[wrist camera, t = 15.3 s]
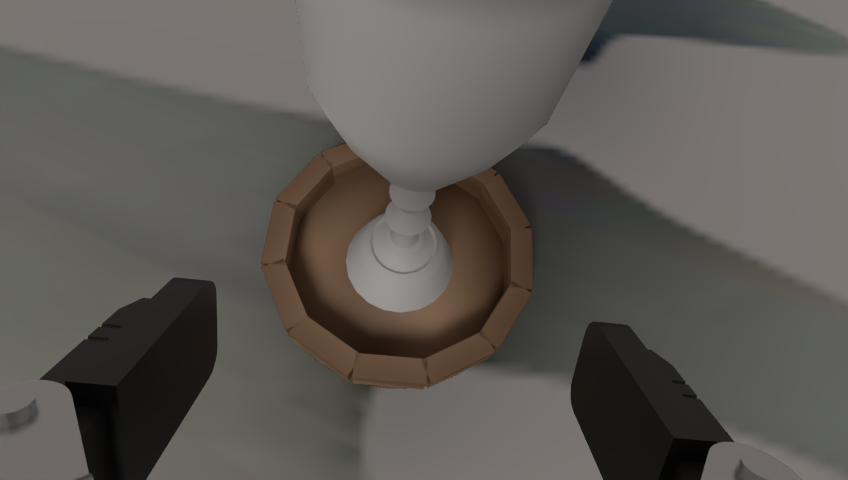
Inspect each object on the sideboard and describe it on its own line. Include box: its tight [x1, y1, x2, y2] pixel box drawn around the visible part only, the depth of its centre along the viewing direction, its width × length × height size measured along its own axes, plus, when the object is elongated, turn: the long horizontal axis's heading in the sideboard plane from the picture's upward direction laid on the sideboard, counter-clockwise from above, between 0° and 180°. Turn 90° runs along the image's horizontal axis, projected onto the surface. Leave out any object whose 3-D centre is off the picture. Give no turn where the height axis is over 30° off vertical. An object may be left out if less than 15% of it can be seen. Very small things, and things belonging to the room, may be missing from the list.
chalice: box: [295, 0, 613, 313], centre depth 16 cm, size 7×7×18 cm
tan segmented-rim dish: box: [261, 143, 533, 389], centre depth 24 cm, size 12×12×2 cm
